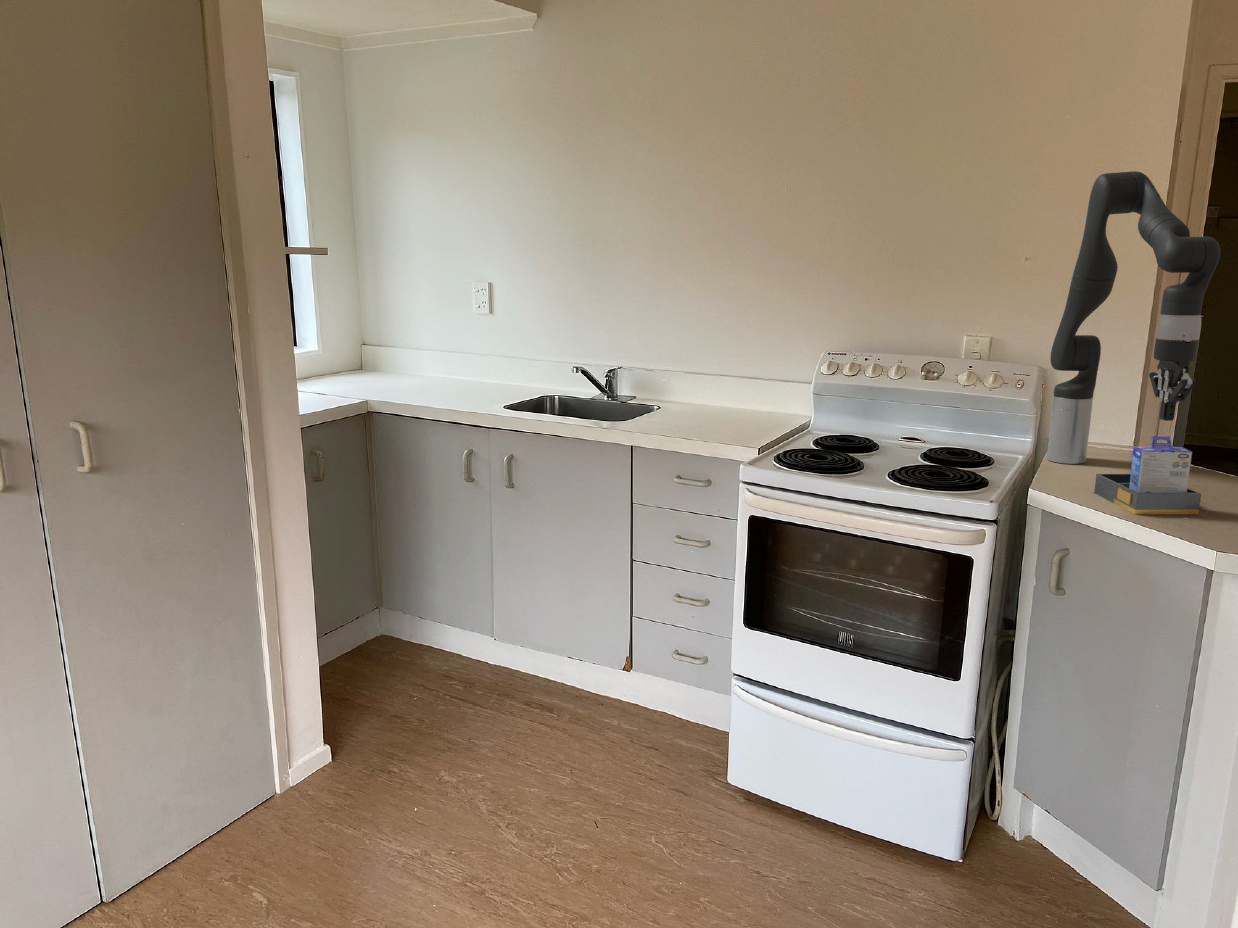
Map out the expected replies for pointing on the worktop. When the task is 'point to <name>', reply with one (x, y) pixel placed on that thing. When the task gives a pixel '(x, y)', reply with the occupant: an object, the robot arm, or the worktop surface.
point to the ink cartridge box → (1160, 468)
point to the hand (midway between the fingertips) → (1166, 419)
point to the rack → (1145, 497)
